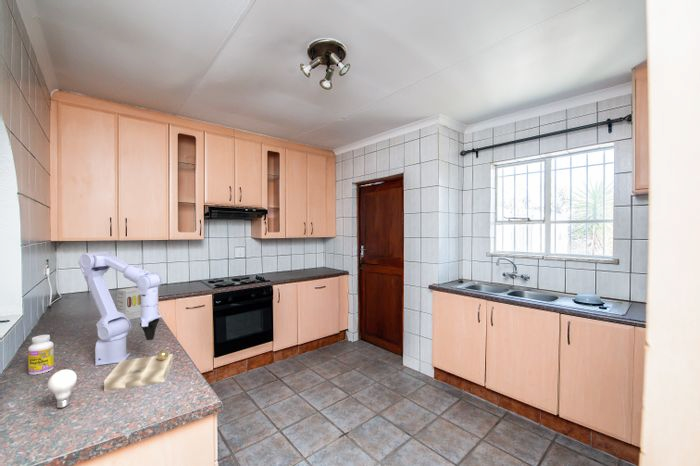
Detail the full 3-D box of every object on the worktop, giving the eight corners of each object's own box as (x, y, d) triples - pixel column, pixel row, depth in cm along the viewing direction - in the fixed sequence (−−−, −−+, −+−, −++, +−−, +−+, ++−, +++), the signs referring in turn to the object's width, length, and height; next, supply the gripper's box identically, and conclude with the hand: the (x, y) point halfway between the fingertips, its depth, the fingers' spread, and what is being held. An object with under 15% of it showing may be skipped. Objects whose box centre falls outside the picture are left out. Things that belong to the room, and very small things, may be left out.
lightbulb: (61, 401, 94) (60, 365, 94) (83, 400, 95) (82, 365, 94) (42, 414, 88) (41, 376, 87) (65, 413, 88) (64, 375, 88)
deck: (104, 391, 100) (103, 380, 100) (121, 369, 115) (120, 360, 115) (164, 382, 106) (164, 372, 106) (173, 362, 121) (172, 353, 121)
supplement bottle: (24, 377, 109) (23, 341, 109) (33, 369, 115) (32, 335, 115) (50, 373, 112) (49, 338, 112) (57, 365, 118) (56, 332, 118)
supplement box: (125, 321, 172) (125, 291, 172) (116, 318, 176) (115, 289, 176) (143, 316, 181) (143, 288, 181) (134, 314, 185) (133, 286, 185)
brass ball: (156, 362, 113) (156, 353, 113) (158, 358, 116) (158, 349, 116) (167, 361, 114) (167, 351, 114) (169, 357, 117) (168, 348, 117)
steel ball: (129, 372, 105) (131, 371, 108) (129, 383, 104) (132, 381, 107) (141, 369, 106) (143, 368, 109) (142, 380, 106) (144, 378, 109)
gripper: (156, 308, 114) (157, 344, 114) (165, 299, 128) (165, 332, 128) (134, 310, 112) (135, 347, 112) (145, 301, 125) (146, 334, 126)
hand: (150, 339), depth 120 cm, fingers closed
